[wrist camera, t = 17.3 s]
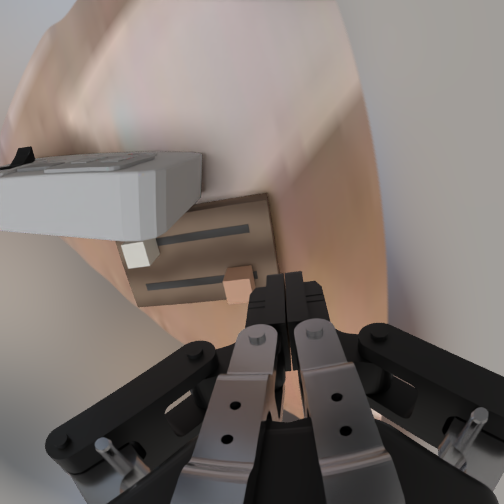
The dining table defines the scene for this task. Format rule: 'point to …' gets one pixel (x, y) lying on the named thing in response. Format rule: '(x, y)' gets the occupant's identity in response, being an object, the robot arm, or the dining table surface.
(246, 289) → the block
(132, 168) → the rounded white slab
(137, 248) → the block
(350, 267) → the dining table surface
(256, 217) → the console
